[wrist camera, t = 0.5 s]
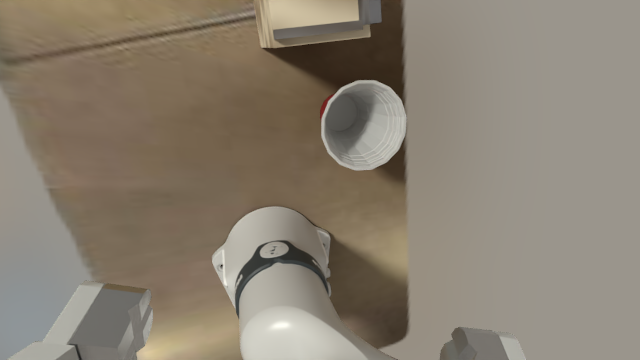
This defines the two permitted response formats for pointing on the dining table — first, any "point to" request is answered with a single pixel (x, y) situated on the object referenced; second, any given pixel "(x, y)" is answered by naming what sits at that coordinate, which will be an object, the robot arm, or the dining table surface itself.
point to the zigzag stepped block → (314, 21)
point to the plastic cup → (363, 124)
